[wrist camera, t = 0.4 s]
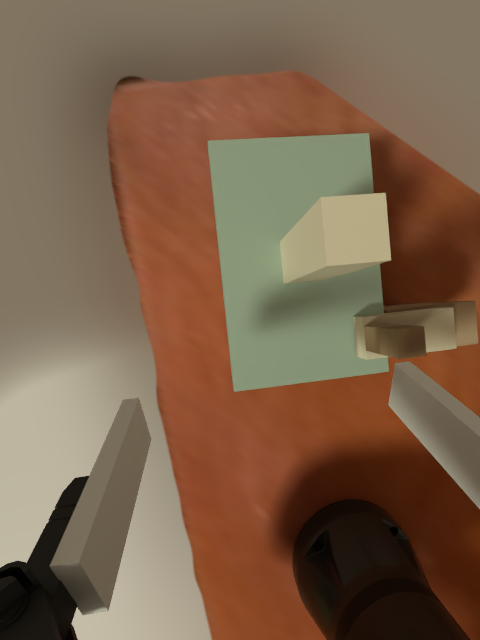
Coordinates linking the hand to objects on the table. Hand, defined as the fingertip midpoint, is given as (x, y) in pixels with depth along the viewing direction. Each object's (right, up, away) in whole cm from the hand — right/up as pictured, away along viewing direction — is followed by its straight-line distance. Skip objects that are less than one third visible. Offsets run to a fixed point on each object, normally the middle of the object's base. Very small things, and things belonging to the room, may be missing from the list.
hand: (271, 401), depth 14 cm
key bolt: (+12, +3, +10) cm, 16 cm away
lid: (+4, +9, +12) cm, 15 cm away
